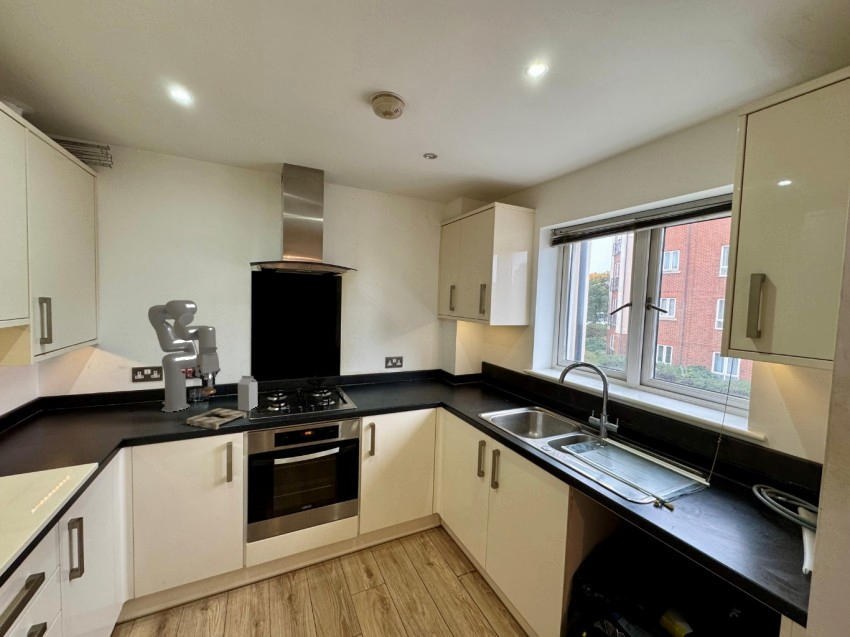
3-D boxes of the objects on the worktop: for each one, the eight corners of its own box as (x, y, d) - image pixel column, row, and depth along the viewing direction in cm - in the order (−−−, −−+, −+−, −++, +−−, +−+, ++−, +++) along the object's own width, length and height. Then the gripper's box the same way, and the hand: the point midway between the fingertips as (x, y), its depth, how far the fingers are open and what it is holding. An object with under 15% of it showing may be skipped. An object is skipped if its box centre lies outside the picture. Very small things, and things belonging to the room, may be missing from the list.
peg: (199, 394, 172) (198, 372, 172) (209, 391, 178) (209, 370, 177) (207, 395, 170) (207, 373, 170) (218, 392, 176) (217, 371, 176)
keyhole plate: (186, 424, 168) (186, 418, 168) (218, 413, 185) (218, 407, 185) (216, 429, 162) (216, 423, 162) (246, 417, 179) (246, 411, 179)
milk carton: (249, 411, 188) (248, 377, 187) (238, 410, 190) (237, 377, 189) (257, 407, 195) (257, 375, 194) (247, 406, 197) (246, 374, 196)
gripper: (216, 348, 182) (217, 381, 183) (186, 352, 166) (187, 389, 167) (227, 348, 180) (228, 382, 181) (197, 353, 164) (198, 390, 165)
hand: (208, 385), depth 174 cm, fingers closed on peg, 3 cm apart
